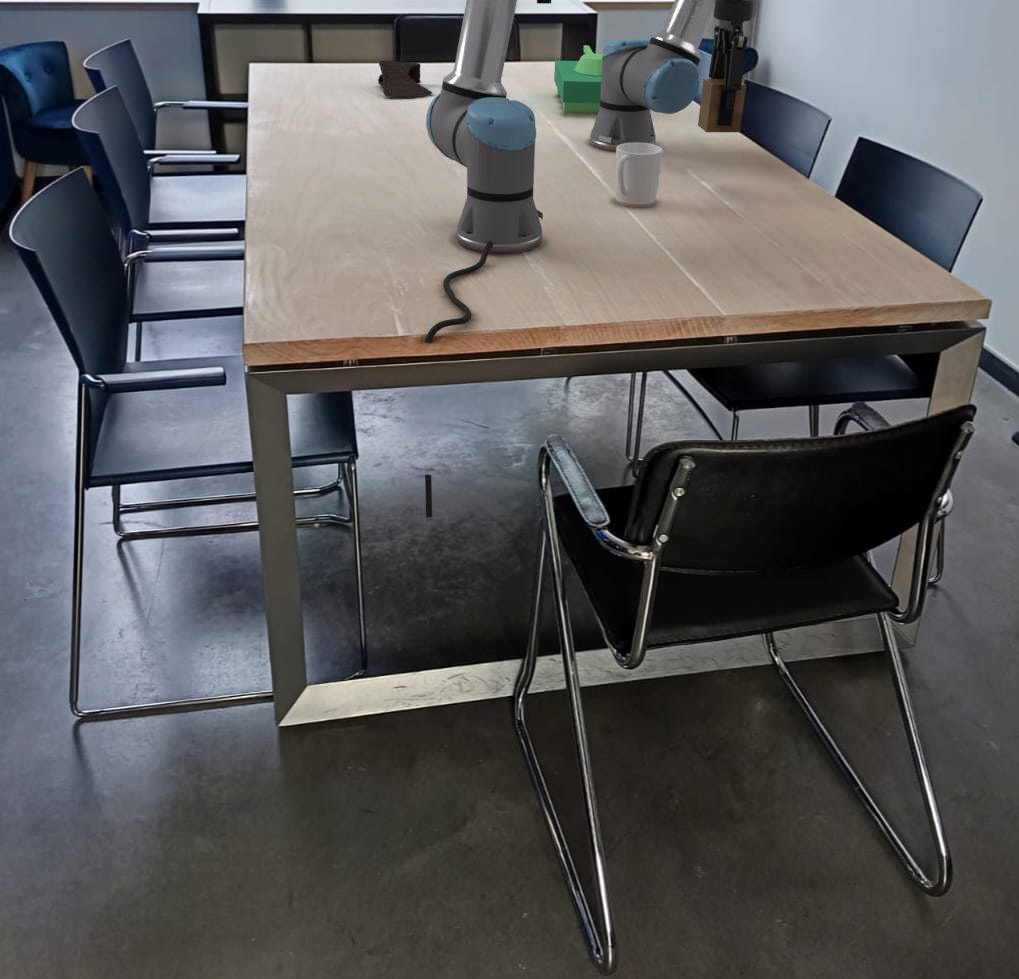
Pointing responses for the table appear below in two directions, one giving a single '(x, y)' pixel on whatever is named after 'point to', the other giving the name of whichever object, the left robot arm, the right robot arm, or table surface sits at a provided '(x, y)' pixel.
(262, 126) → the table surface
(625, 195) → the mug
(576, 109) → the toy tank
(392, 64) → the axe head
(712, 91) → the brick
